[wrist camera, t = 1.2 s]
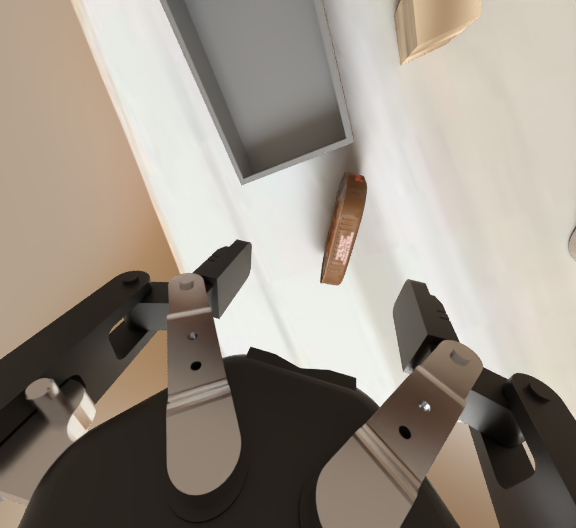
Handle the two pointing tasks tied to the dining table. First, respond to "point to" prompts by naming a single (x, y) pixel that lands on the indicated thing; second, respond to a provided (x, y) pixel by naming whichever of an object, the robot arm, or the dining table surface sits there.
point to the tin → (343, 228)
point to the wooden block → (431, 24)
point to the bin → (265, 79)
